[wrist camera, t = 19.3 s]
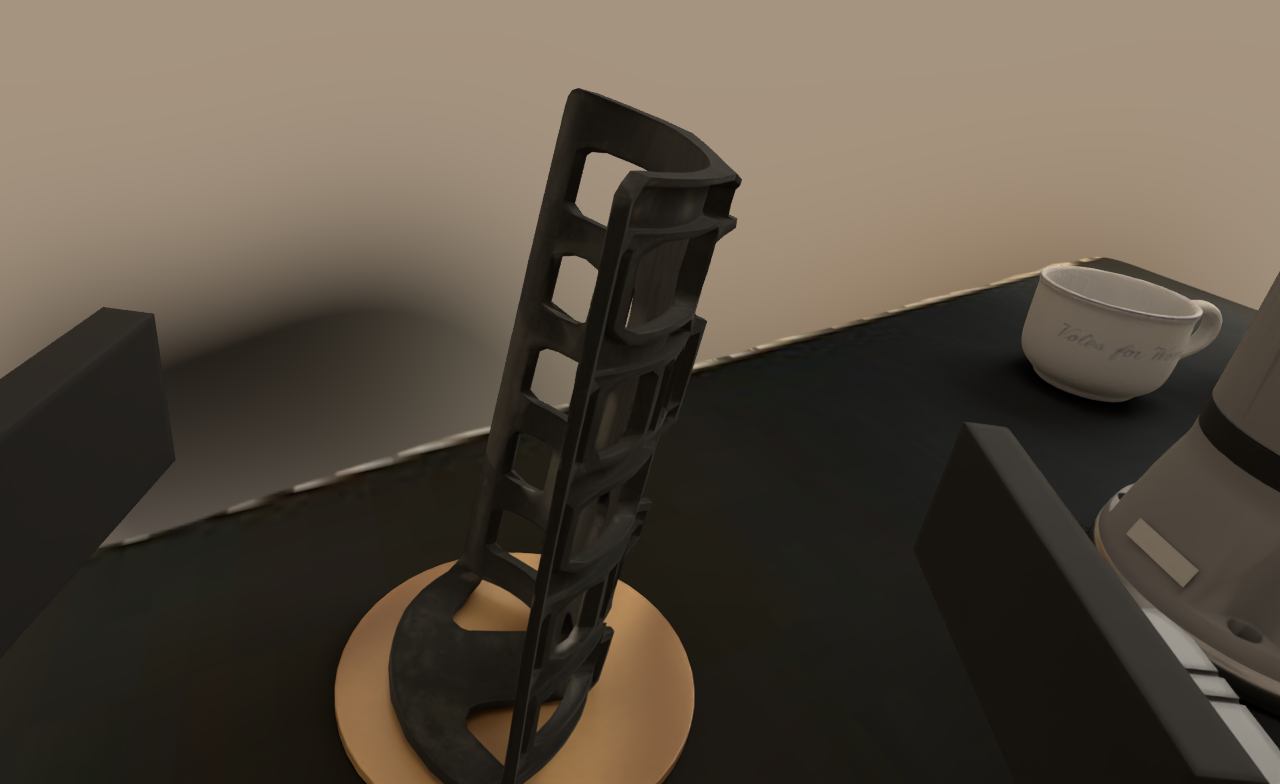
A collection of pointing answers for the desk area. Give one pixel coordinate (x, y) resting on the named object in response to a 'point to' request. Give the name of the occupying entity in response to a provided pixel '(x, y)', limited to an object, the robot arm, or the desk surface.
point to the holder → (570, 446)
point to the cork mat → (602, 740)
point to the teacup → (1111, 332)
